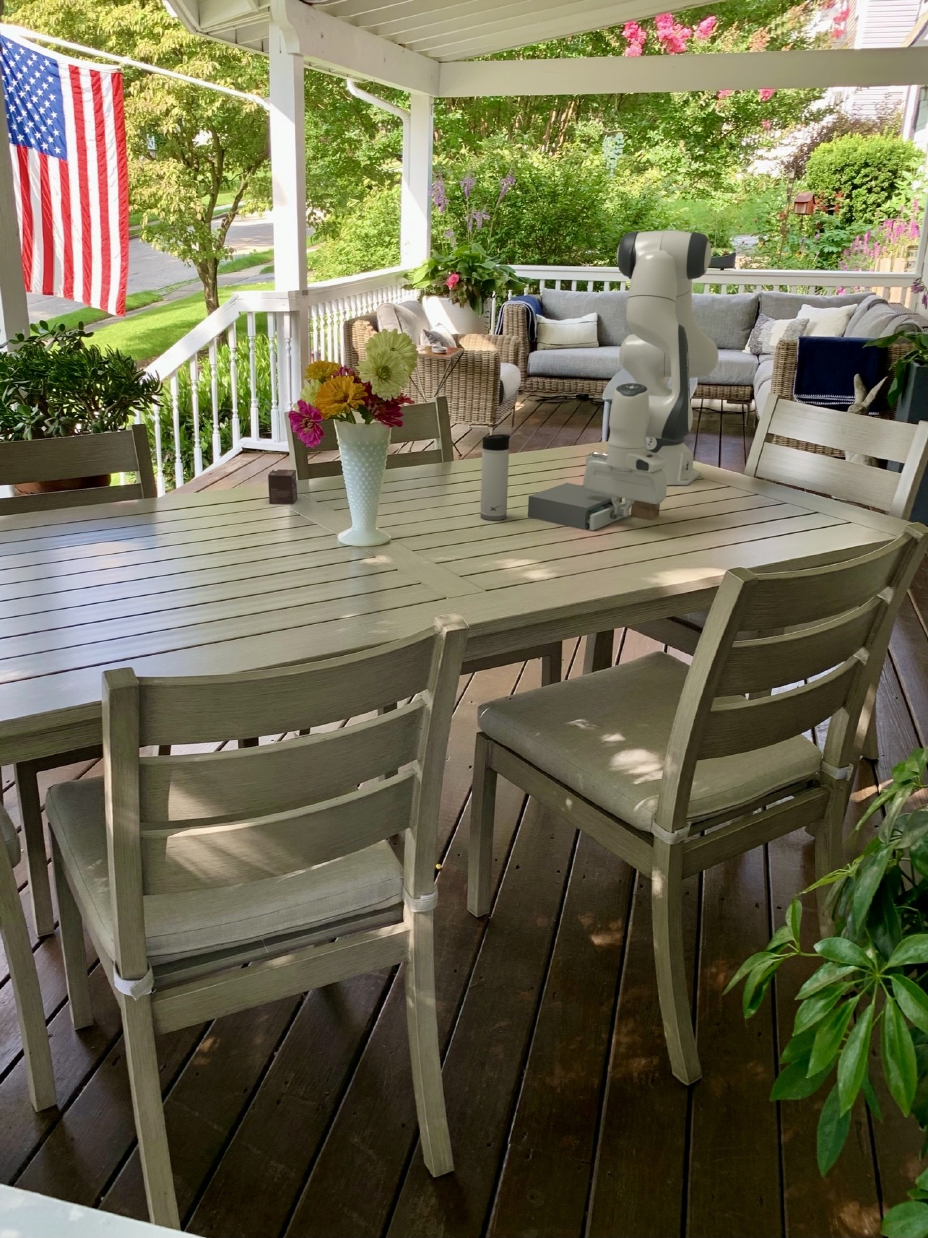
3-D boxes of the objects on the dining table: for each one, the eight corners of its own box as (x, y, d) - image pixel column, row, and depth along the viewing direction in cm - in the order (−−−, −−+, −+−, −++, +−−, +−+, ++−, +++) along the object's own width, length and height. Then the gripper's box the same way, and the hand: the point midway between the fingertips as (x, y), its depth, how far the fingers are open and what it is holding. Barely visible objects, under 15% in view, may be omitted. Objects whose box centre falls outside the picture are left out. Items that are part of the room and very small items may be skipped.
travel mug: (497, 522, 239) (500, 437, 231) (475, 517, 242) (477, 433, 235) (512, 516, 243) (516, 433, 236) (490, 511, 247) (493, 429, 239)
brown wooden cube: (640, 512, 249) (642, 492, 248) (658, 515, 247) (660, 495, 245) (630, 516, 246) (632, 496, 244) (649, 520, 243) (651, 500, 241)
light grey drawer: (573, 503, 255) (574, 490, 253) (632, 516, 245) (633, 502, 244) (536, 517, 242) (537, 503, 241) (596, 531, 233) (598, 516, 232)
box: (293, 504, 250) (292, 475, 247) (268, 504, 250) (267, 474, 247) (297, 498, 255) (296, 469, 253) (273, 497, 255) (272, 468, 253)
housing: (565, 502, 256) (566, 482, 254) (621, 514, 247) (623, 493, 245) (527, 516, 243) (528, 495, 242) (585, 529, 235) (586, 507, 233)
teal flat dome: (584, 506, 246) (585, 499, 246) (608, 510, 243) (608, 504, 242) (571, 511, 242) (571, 505, 241) (595, 516, 238) (595, 509, 238)
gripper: (580, 452, 236) (576, 510, 241) (659, 466, 224) (654, 526, 230) (593, 448, 240) (590, 504, 246) (672, 461, 229) (666, 520, 234)
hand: (621, 515), depth 238 cm, fingers closed
